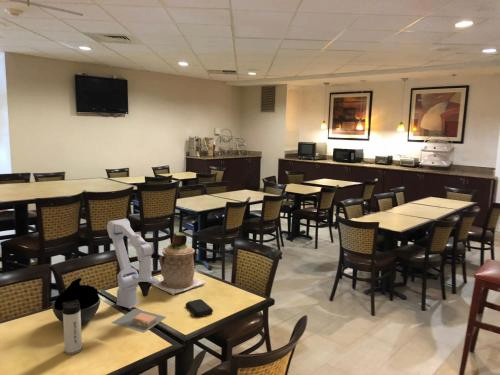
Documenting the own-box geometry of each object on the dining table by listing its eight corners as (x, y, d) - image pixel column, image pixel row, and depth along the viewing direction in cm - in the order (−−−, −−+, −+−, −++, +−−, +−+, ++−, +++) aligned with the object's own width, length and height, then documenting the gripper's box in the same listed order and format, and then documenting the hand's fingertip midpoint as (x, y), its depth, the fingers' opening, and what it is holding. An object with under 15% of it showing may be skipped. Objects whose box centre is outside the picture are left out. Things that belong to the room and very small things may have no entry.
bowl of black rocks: (82, 336, 162) (80, 294, 159) (42, 329, 166) (40, 289, 164) (109, 315, 181) (108, 277, 178) (73, 309, 186) (72, 273, 183)
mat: (111, 323, 173) (111, 322, 173) (135, 309, 188) (135, 308, 187) (144, 333, 165) (144, 332, 165) (166, 318, 180) (166, 317, 180)
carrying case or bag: (182, 307, 192) (194, 319, 180) (182, 301, 191) (194, 313, 179) (201, 302, 198) (214, 314, 185) (201, 297, 197) (214, 308, 185)
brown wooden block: (132, 317, 173) (147, 322, 169) (141, 312, 178) (156, 316, 174) (132, 323, 173) (147, 327, 169) (141, 317, 178) (156, 322, 175)
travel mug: (67, 346, 154) (65, 299, 151) (84, 345, 155) (82, 299, 152) (61, 355, 148) (58, 306, 145) (78, 354, 149) (76, 306, 146)
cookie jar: (207, 284, 221) (208, 231, 217) (172, 296, 203) (172, 239, 199) (182, 273, 238) (182, 223, 233) (147, 283, 220) (146, 230, 216)
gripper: (127, 268, 179) (127, 295, 181) (151, 274, 173) (151, 302, 175) (137, 264, 186) (138, 290, 188) (161, 269, 180) (161, 296, 181)
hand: (145, 295), depth 182 cm, fingers closed
